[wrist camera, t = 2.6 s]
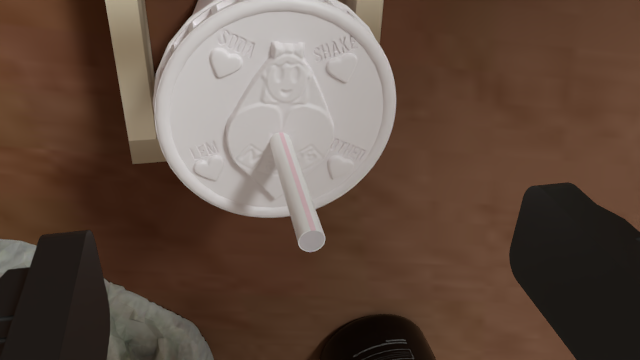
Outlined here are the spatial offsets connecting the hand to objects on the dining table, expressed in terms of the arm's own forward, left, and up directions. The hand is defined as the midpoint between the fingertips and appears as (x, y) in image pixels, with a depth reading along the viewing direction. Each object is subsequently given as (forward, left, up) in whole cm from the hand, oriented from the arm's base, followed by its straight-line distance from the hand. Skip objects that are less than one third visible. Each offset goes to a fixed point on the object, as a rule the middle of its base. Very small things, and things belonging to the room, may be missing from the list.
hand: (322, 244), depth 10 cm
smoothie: (0, 0, -15) cm, 15 cm away
